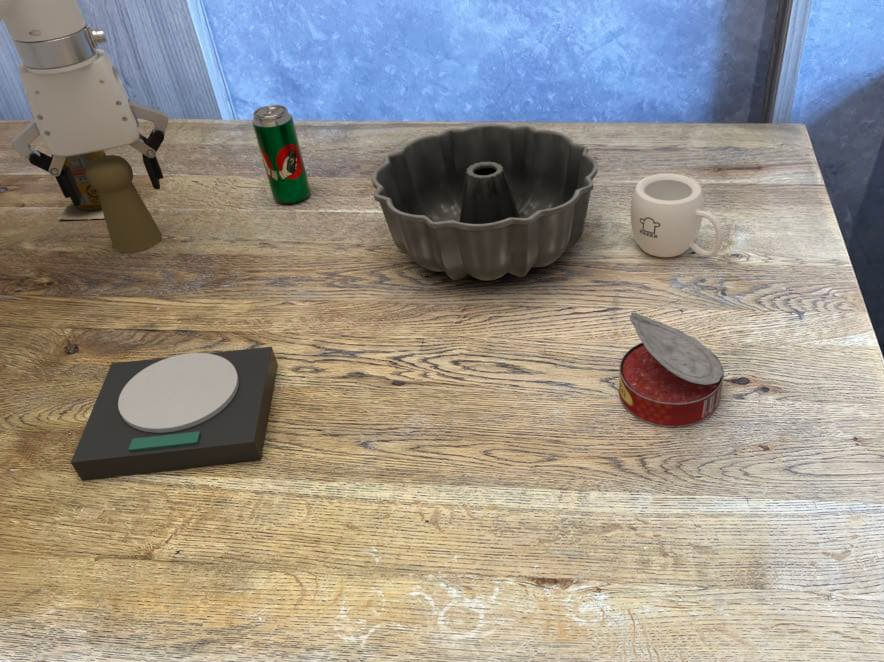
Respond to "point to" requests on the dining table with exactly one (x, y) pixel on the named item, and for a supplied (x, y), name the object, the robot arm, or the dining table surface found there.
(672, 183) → the mug
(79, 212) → the condiment
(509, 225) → the bundt pan
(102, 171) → the cork
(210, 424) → the scale
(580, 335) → the dining table surface
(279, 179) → the soda can
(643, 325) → the canned food
